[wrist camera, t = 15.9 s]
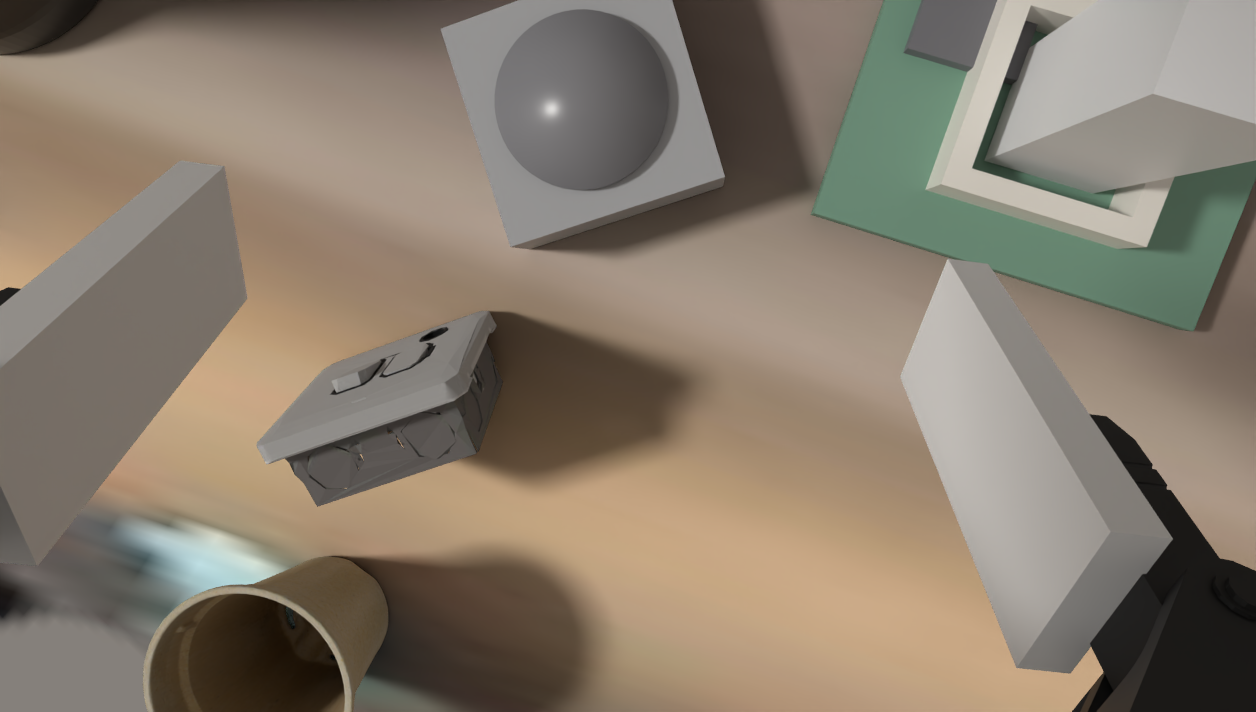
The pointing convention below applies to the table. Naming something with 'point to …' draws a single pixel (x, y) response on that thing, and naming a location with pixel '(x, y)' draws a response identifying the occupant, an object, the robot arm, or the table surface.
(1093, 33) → the plug
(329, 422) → the electrical switch
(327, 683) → the flower pot
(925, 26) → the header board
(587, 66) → the dome push button
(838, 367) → the table surface
